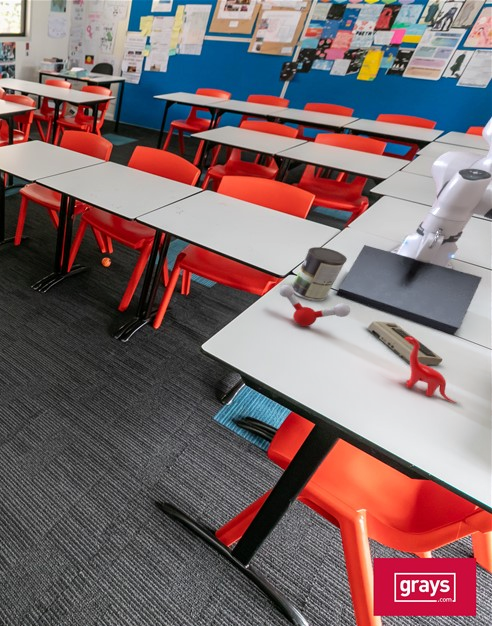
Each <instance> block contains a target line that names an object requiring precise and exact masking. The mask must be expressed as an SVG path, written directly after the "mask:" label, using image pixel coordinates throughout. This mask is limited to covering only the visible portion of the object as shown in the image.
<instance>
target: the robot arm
mask: <svg viewBox="0 0 492 626" xmlns="http://www.w3.org/2000/svg"><path fill="white" fill-rule="evenodd" d="M481 133H482V134H481V135H482V138H483V140H484V141H485V142H486V143H487V144H488V152H487V155H484V154H480V153H476V152H471V151H463V150H448V151H446V152H444V153H443V154H441V155H440V156H438V157H437V158H436V159H435V160H434V162H433V163H432V165H431V167H430V175H431V177H432V179H433V181H434V184H435V198H434V201H433V203H432V206H431V208H430V210H429V212H428V213H427V215H426V216H425V218H424V220H423V221H421V222H420V224H419V225H418V226H417V228H416V231H415V232H414V233H410V234H409V235H406V236H404V238H403V240H402V241H403V242H402V243H401V244H400V245H398V246H397V247H395V248H394V249H392V250H391V251H390V252H392V253H395V254H399V255H403V256H406V257H410V258H414V259H415V260H418V261H421V262H425V263H432V264H435V265H439V266H443V267H446V268H450V269H453V264H451V261H452V259H454V258H455V254H456V253H457V251H458V249H459V248H458V244H457V243H456V242H458V241H459V239H460V238H461V237H462V234H463V230H464V229H465V228H466V226H467V224H468V223H469V221H470V220H471V219H472V217H473V216H474V215H477V216H482V217H483V218H487V219H490V220H492V116H491V118H490V119H489V120H488V122H487V123H486V124H485V125H484V127H483V129H482V131H481Z"/></svg>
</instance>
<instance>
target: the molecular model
mask: <svg viewBox="0 0 492 626" xmlns="http://www.w3.org/2000/svg"><path fill="white" fill-rule="evenodd" d="M278 292H279V295H280V296H282V298H287V300H288V301H289V303H290V304H291V305H292V307H293V309H294V310H295V311H294V313H293V320H294V322H295V324H297V325H299V326H301V327H309V326H312V325H313V324H314V323H316V321H317V318H323V317H329V316H336V317H340V318H344V317H347V316H348V315H349V314H350V312H351V308H350V307H349V305H348V304H346V303H337V304H336V305H335V306H333V308H327V309H322V310H321V309H320V310H314V309H313V308H311V307H309V306H302V304H301V303H300V301H299V300H298V298H297V297H296V296H295V293H294V288H293V287H292V285H290V284H283V285H281V287H279V290H278Z"/></svg>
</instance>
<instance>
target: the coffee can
mask: <svg viewBox="0 0 492 626" xmlns="http://www.w3.org/2000/svg"><path fill="white" fill-rule="evenodd" d="M347 258H348V257H346V256H345V255H344V254H343V253H341V252H339V251H337V250H334V249H331V248H326V247H320V246H319V247H318V246H317V247H316V246H315V247H314V246H313V247H311V248H309V249H308V250H307V253H306V256H305V257H304V260H303V262H302V264H301V265H300V266H301V267H300V269H299V270H298V272H297V275H296V277H295V279H294V280H293V284H292V285H291V286H292V287H293V288H294V293H293V294H294V295H296V296H298V297H300V298H302V299H305V300H308V301H313V302H322V301H324V300H326V299H327V296H328V294H329V293H330V290H331V289H332V287H333V286H334V283H335V282H336V280H337V278H338V276H339V274H340V273H341V270H342V268H343V267H344V265H345V263H346V262H347V260H348V259H347Z"/></svg>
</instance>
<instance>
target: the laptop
mask: <svg viewBox="0 0 492 626" xmlns="http://www.w3.org/2000/svg"><path fill="white" fill-rule="evenodd" d="M335 295H336V296H339V297H342V298H344V299H347V300H350V301H353V302H356V303H358V304H361V305H365V306H368V307H370V308H374V309H377V310H380V311H382V312H386V313H388V314H392V315H394V316H398V317H400V318H403V319H406V320H409V321H412V322H414V323H418V324H420V325H424V326H427V327H429V328H432V329H436V330H437V331H441V332H444V333H446V334H450V335H452V336H453V335H455V334H456V333H457V331H458V330H457V329H454V328H451V327H448V326H445V325H442V324H439V323H436V322H433V321H430V320H427V319H424V318H421V317H418V316H415V315H412V314H410V313H407V312H404V311H401V310H398V309H395V308H392V307H389V306H386V305H383V304H380V303H377V302H374V301H371V300H368V299H365V298H362V297H359V296H356V295H353V294H350V293H347V292H344V291H341V290H339V289H338V290H337V292H336V293H335Z"/></svg>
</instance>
